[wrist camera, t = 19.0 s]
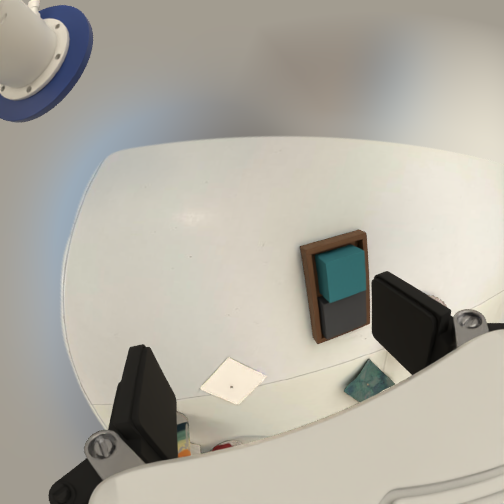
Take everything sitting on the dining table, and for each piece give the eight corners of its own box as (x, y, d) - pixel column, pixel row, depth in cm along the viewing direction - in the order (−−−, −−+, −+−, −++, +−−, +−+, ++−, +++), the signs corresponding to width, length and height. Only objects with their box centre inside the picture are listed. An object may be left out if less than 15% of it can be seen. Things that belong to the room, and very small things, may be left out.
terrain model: (338, 385, 48) (343, 391, 47) (368, 357, 48) (373, 362, 47) (365, 404, 53) (370, 409, 51) (391, 380, 53) (395, 384, 51)
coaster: (267, 376, 44) (268, 379, 43) (237, 404, 45) (238, 408, 44) (228, 357, 41) (229, 360, 41) (199, 388, 42) (199, 391, 41)
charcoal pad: (316, 297, 41) (323, 304, 39) (358, 282, 42) (366, 288, 40) (320, 331, 43) (326, 339, 41) (359, 317, 44) (366, 323, 42)
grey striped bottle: (193, 424, 45) (205, 517, 26) (167, 431, 44) (171, 521, 25) (177, 406, 43) (183, 506, 24) (151, 415, 42) (148, 510, 23)
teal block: (314, 254, 39) (325, 263, 36) (351, 243, 40) (364, 250, 36) (319, 292, 41) (329, 303, 37) (354, 280, 42) (366, 289, 38)
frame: (299, 246, 39) (305, 250, 37) (359, 229, 40) (366, 232, 38) (312, 337, 44) (317, 344, 42) (364, 318, 45) (370, 323, 43)
